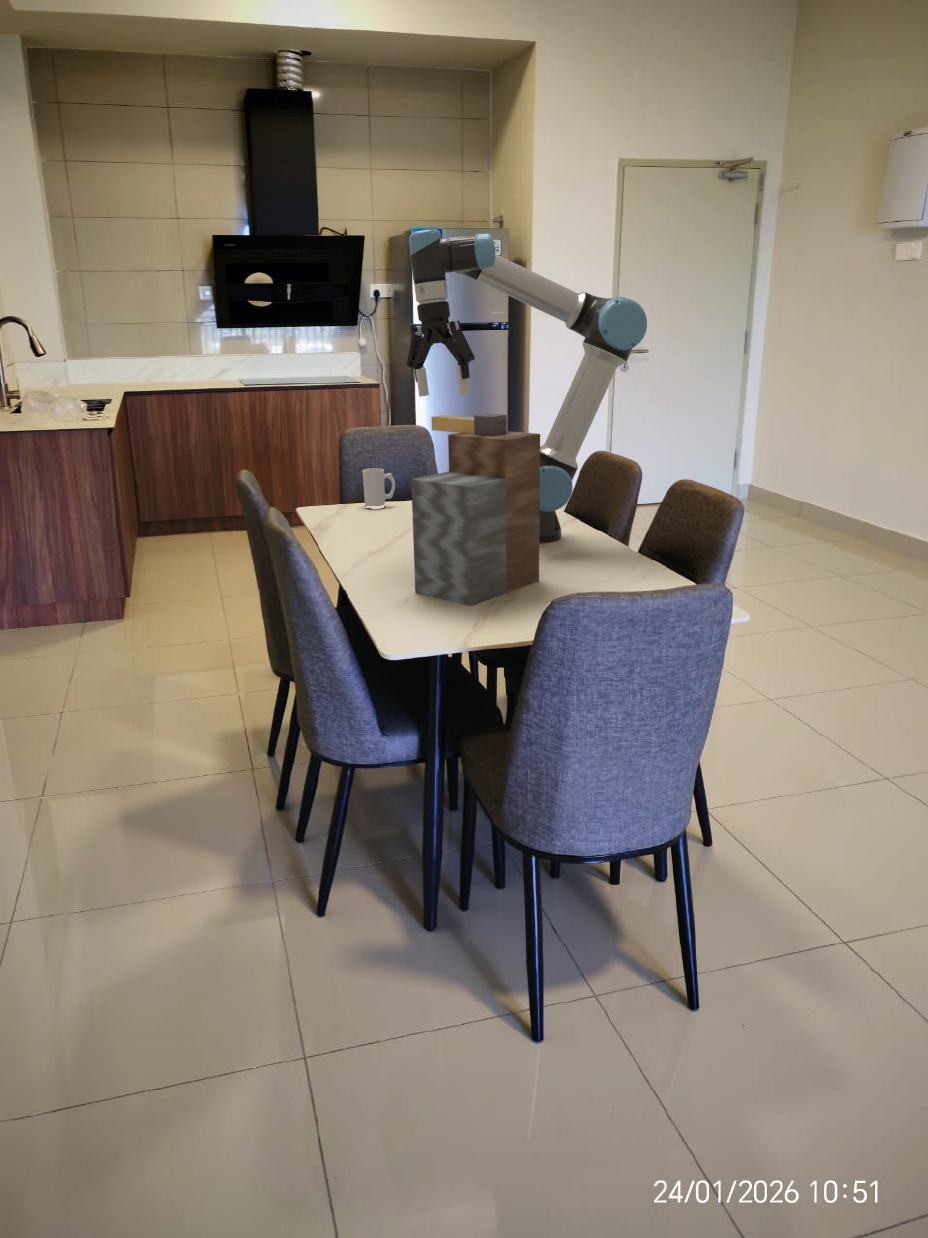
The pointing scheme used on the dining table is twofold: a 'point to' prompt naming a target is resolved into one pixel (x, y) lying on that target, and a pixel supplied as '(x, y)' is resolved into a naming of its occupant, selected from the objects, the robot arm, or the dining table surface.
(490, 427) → the block
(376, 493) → the mug
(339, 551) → the dining table surface
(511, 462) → the stand
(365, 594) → the dining table surface
